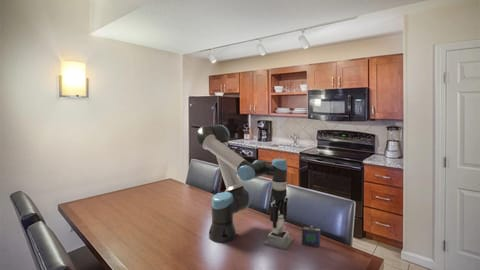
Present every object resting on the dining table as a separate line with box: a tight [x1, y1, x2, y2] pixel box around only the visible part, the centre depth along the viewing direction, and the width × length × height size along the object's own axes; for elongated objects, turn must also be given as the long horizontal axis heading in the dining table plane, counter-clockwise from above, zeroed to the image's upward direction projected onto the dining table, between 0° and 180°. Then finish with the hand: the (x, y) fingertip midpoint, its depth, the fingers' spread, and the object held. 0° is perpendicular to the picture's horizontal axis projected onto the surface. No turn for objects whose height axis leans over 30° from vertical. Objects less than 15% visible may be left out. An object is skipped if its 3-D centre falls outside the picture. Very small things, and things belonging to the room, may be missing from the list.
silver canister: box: [274, 212, 285, 238], centre depth 139 cm, size 5×5×14 cm
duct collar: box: [263, 229, 294, 251], centre depth 140 cm, size 12×12×5 cm
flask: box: [301, 225, 321, 248], centre depth 136 cm, size 9×3×11 cm, turn 77°
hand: (278, 231), depth 139 cm, fingers closed on silver canister, 5 cm apart
